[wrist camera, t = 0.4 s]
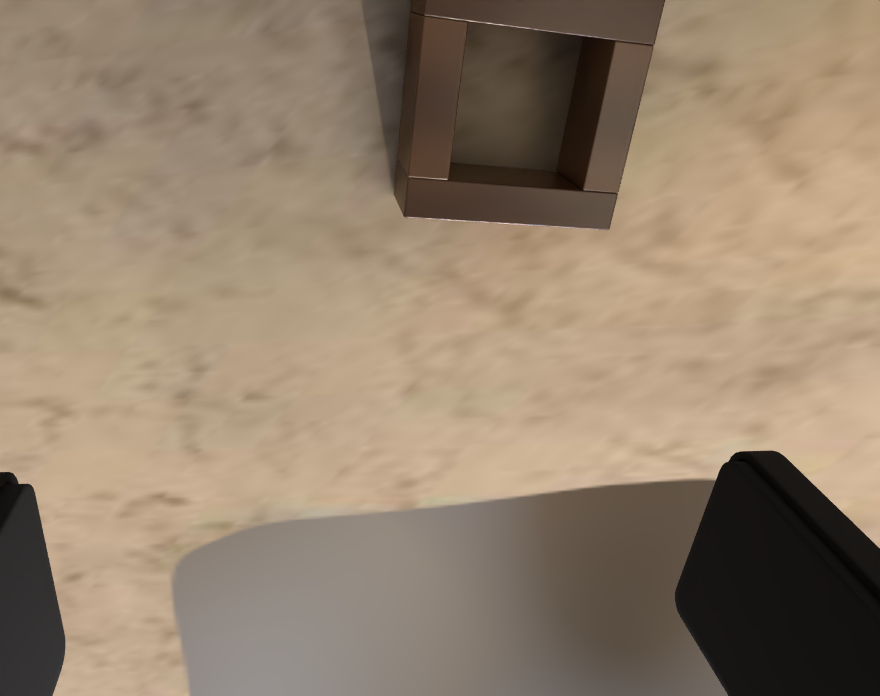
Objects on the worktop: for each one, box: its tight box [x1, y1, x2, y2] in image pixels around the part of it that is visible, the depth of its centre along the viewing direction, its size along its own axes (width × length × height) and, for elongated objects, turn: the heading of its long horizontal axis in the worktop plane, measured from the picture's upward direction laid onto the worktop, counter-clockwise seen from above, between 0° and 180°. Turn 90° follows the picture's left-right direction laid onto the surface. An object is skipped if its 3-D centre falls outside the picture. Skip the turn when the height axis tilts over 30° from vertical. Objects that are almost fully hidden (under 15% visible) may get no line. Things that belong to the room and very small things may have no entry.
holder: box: [394, 0, 665, 230], centre depth 34 cm, size 11×11×4 cm
